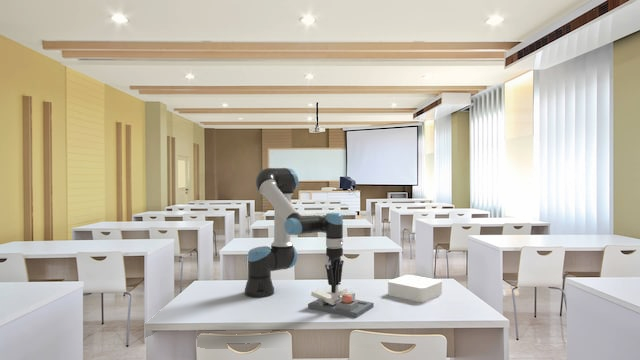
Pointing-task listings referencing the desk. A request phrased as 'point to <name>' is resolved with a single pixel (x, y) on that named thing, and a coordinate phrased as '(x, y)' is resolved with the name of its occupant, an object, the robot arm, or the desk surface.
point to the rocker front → (324, 296)
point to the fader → (352, 295)
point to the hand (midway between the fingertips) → (334, 299)
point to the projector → (415, 288)
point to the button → (347, 298)
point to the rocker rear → (340, 291)
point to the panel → (342, 307)
